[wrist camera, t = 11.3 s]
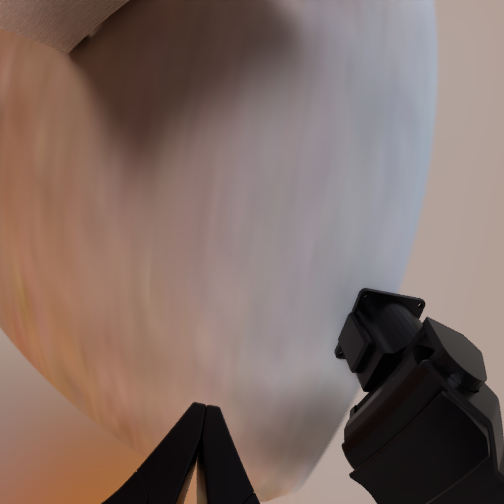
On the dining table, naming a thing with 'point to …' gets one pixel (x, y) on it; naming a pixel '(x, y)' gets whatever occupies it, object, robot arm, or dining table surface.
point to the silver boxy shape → (56, 19)
